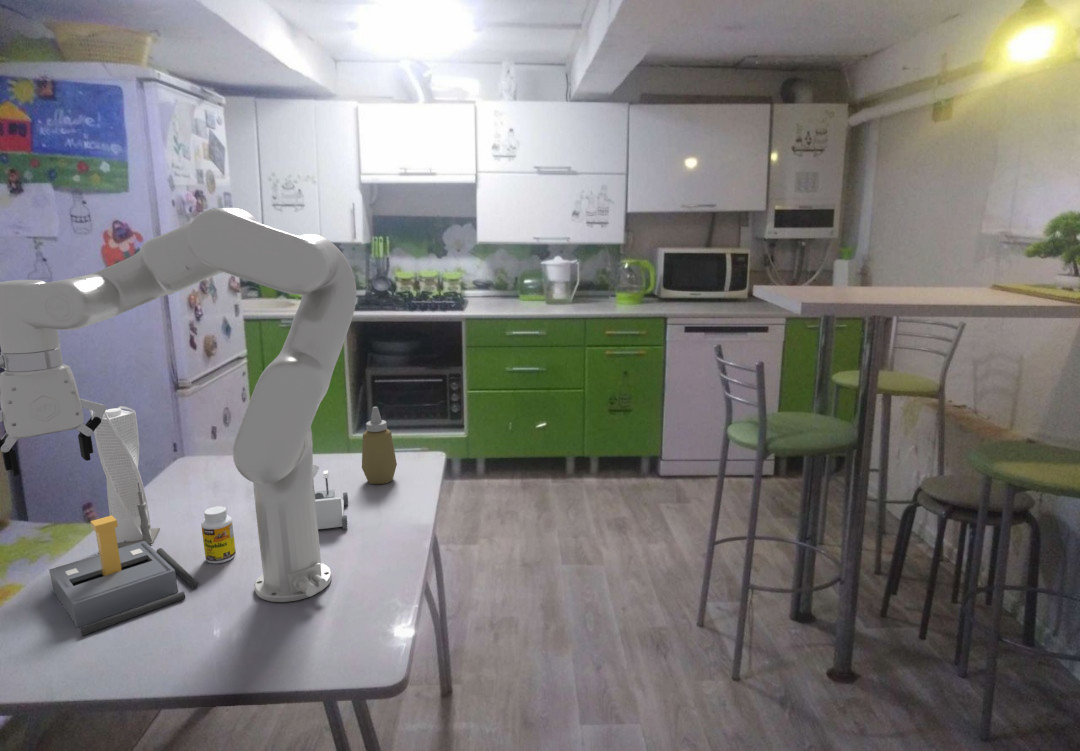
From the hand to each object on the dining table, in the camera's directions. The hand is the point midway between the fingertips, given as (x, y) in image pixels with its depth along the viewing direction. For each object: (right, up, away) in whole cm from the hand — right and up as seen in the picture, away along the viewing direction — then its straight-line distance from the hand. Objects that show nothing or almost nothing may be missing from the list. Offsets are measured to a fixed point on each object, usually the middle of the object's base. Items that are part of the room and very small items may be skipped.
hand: (51, 465), depth 116 cm
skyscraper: (-3, -18, +28) cm, 33 cm away
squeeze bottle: (+40, -11, +56) cm, 70 cm away
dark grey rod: (+12, -21, +15) cm, 28 cm away
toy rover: (+31, -16, +37) cm, 51 cm away
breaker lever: (+5, -20, +8) cm, 22 cm away
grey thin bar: (+13, -24, +1) cm, 27 cm away
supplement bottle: (+19, -20, +20) cm, 33 cm away
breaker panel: (+5, -22, +8) cm, 25 cm away
